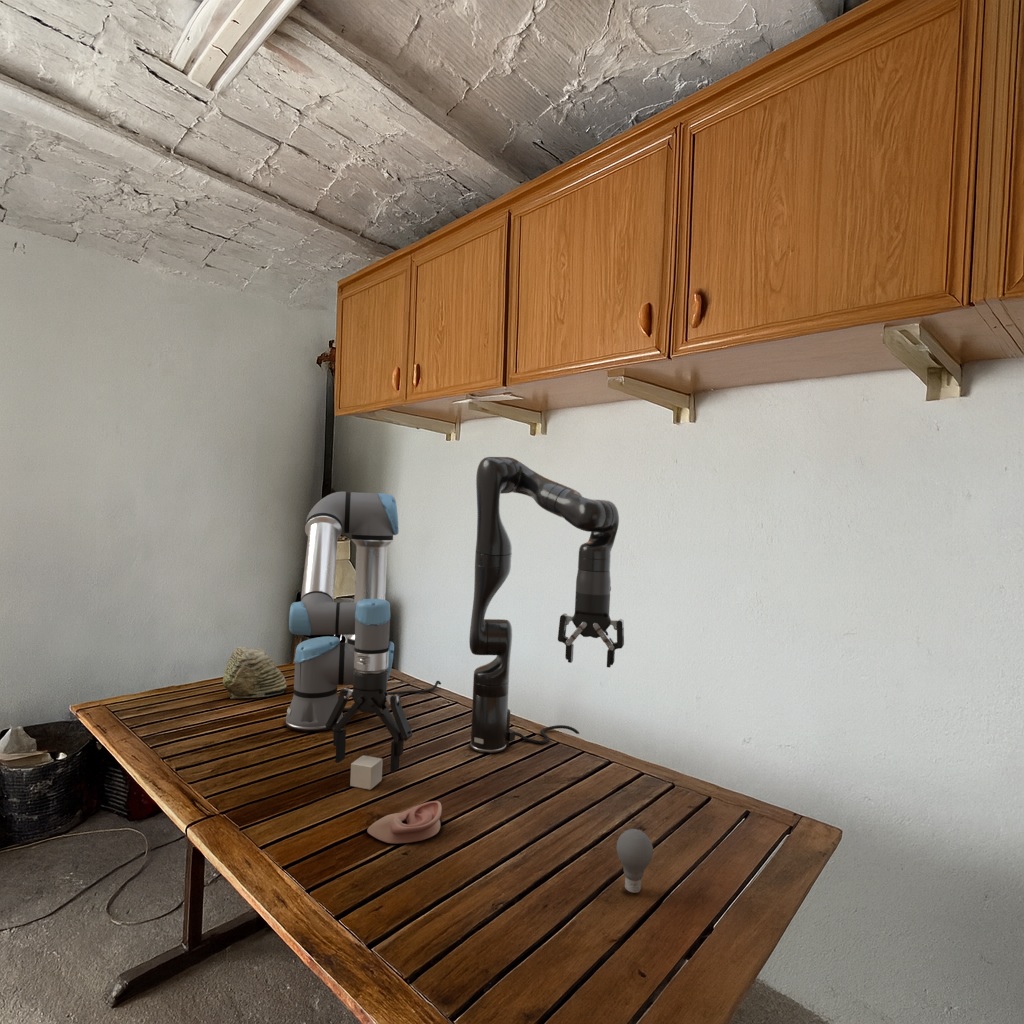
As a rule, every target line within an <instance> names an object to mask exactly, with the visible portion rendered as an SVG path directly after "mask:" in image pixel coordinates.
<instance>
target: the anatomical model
mask: <svg viewBox="0 0 1024 1024" xmlns="http://www.w3.org/2000/svg"><path fill="white" fill-rule="evenodd" d="M442 812H443V807H442V804H441V802H440V801H438V800H431V801H426V802H424V803H421V804H418V805H415V806H412V807H410V808H408V809H405V810H403V811H401V812H397V813H391V814H387V815H385V816H383V817H381V818H379V819H377V820H376V821H374V822H373V823H372V824H371V825H369V826H368V828H367V831H366V832H367V833H368V834H369V835H370V836H372V837H373V838H375V839H377V840H379V841H381V842H384V843H387V844H394V845H395V844H408V843H414V842H420V841H424V840H426V839H429V838H432V837H434V836H436V835H437V834H438V833H439V831H440V829H441V820H440V819H441V816H442Z"/></svg>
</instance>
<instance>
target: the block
mask: <svg viewBox="0 0 1024 1024" xmlns="http://www.w3.org/2000/svg"><path fill="white" fill-rule="evenodd" d="M383 760H384V759H383V758H381V757H376V756H369V755H365V754H364V755H361V756H360V757H359V758H356V760H354V761H353V762H352V763H350V780H349V781H350V783H349V786H350V787H354V788H359V789H365V790H372V789H374V788H375V787H376V786H377V785H378V784H380V783H381V782H382V780H383V762H384V761H383Z"/></svg>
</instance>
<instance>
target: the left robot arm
mask: <svg viewBox="0 0 1024 1024" xmlns="http://www.w3.org/2000/svg"><path fill="white" fill-rule="evenodd" d="M304 533H305V535H306V536H307V543H306V552H305V560H304V568H303V569H304V570H303V577H302V587H301V596H300V601H294V602H292V603H291V604H290V607H289V615H288V629H289V630H288V631H289V632H290V633H291V634H292V635H297V636H320V637H313V638H309V639H306V640H303V641H302V642H299V643H298V644H297V645H296V648H295V655H294V660H293V663H294V674H293V675H294V680H293V695H292V696H293V697H292V699H291V702H290V704H289V706H288V707H287V710H286V712H287V713H286V715H285V726H286V728H287V729H289V730H291V731H294V732H295V731H296V732H301V733H316V732H325V731H329V730H331V731H332V732H333V737H332V738H333V739H332V744H333V747H335V761H334V762H335V764H339V763H341V762H342V761H344V760H345V759H346V743H347V742H346V741H347V729H344V728H345V726H346V725H347V724H348V723H349V722H350V721H351V720H352V719H353V717H355V715H356V714H357V713H358V712H359V711H360V713H369V714H373V715H374V714H375V715H376V716H377V717H378V718H379V719H380V720H381V721H382V723H383V724H384V726H385V727H386V729H387V731H388V732H389V734H390V735H391V737H392V739H393V740H392V741H391V742H390V764H389V765H390V767H389V769H390V771H389V773H395V772H396V771H397V770H399V769H400V758H401V756H402V755H403V754H404V744H405V743H404V742H405V741H407V740H409V739H410V738H412V736H413V732H412V729H411V727H410V724H409V722H408V719H407V716H406V713H405V711H404V709H403V706H402V703H401V695H405V694H422V693H429V692H432V691H434V690H435V689H437V688H438V685H442V682H441V681H440V680H436V681H435V684H434V685H433V687H431V688H427V689H414V690H413V689H411V690H410V689H409V690H400V691H399V690H398V691H389V692H388V681H389V679H390V675H391V673H392V672H391V671H392V667H393V661H394V653H395V652H394V651H395V643H394V642H393V641H391V640H390V630H391V629H390V627H391V626H390V625H391V619H392V618H391V616H392V615H391V603H390V602H389V601H388V600H386V593H387V592H386V589H387V567H388V566H387V563H388V562H387V561H388V547H389V545H391V543H393V541H394V536H396V535H398V534H399V515H398V508H397V501H396V498H395V496H394V495H392V494H389V493H382V492H355V491H353V492H352V491H336V492H332V493H330V494H328V495H326V496H324V497H322V498H321V499H320V500H319V501H318V502H317V503H315V504H314V506H313V507H312V508H311V509H310V511H309V513H308V514H307V516H306V520H305V526H304ZM342 534H351V536H350V537H351V538H350V541H351V542H353V544H355V547H356V549H355V550H356V551H355V575H354V578H355V579H354V598H353V599H354V601H353V602H347V601H344V602H340V601H337V602H335V601H334V600H335V599H334V597H335V584H336V583H335V582H336V569H337V568H336V567H337V552H338V539H339V538H340V537H341V535H342ZM331 635H332V636H331ZM333 635H335V636H333ZM336 635H338V636H347V638H346V639H347V641H346V642H341V640H340V638H339V637H337V636H336ZM338 686H346V687H344V688H342V689H340V690H339V695H338ZM350 686H352V687H353V689H351V687H350ZM350 698H352V700H353V702H354V703H353V704H352V705H351V706H350V707H346V705H347V703H348V702H349V699H350ZM387 704H388V705H389V706H390V708H389V706H388V705H387ZM390 710H391V712H392V713H391V712H390ZM343 712H345V714H343Z"/></svg>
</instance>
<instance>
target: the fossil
mask: <svg viewBox="0 0 1024 1024" xmlns="http://www.w3.org/2000/svg"><path fill="white" fill-rule="evenodd" d="M222 676H223V677H222V685H223V687H224V688H225V690H226V691H228V693H229V698H230V699H250V698H264V697H271V696H275V695H281V694H284V693H285V691H286V689H287V687H288V686H287V680H286V678H285V676H284V674H283V673H282V672H281V669H279V668H278V667H277V665H276V663H275V662H274V660H273V659H272V658H271V657H270V656H269V655H268V654H267V653H266V652H265V650H264V649H263V648H260V647H258V648H251V647H247V646H246V647H245V646H238V647H237V648H236V649H235V650H233V651H232V653H231V656H230V657H229V659H228V660H227V663H226V666H225V668H224V671H223V675H222Z"/></svg>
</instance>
